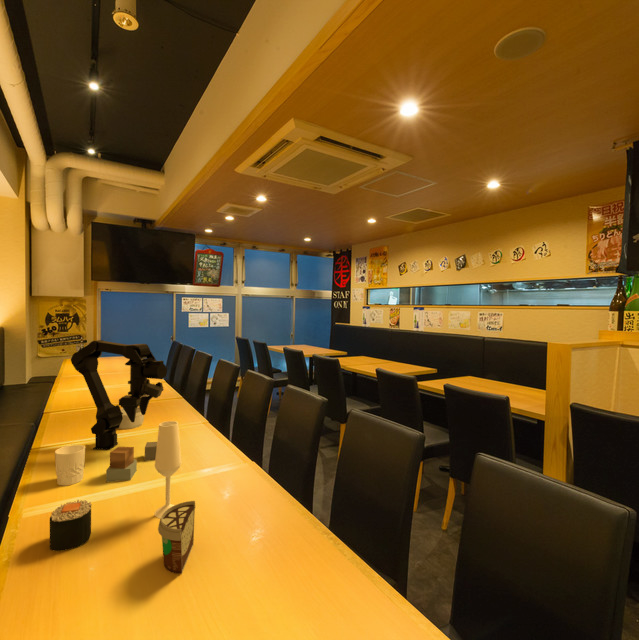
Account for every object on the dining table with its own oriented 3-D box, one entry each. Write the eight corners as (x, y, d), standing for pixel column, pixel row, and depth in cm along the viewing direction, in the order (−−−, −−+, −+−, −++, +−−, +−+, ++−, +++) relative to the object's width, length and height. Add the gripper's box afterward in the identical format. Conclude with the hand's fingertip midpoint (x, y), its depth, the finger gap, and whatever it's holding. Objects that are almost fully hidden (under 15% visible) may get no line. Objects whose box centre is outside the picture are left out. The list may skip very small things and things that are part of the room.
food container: (168, 541, 87) (168, 500, 87) (195, 540, 88) (195, 499, 88) (148, 580, 75) (149, 531, 75) (179, 578, 76) (180, 530, 75)
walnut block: (125, 468, 117) (125, 452, 117) (109, 467, 117) (109, 452, 117) (133, 461, 122) (133, 447, 122) (118, 461, 122) (118, 446, 122)
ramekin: (116, 432, 160) (116, 416, 160) (109, 424, 170) (109, 409, 170) (148, 426, 169) (148, 411, 169) (140, 419, 179) (140, 405, 179)
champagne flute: (161, 504, 104) (162, 419, 103) (184, 505, 103) (186, 420, 103) (149, 518, 97) (150, 427, 96) (174, 519, 97) (175, 428, 96)
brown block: (144, 461, 132) (144, 447, 132) (146, 455, 137) (146, 442, 137) (159, 459, 133) (159, 446, 133) (161, 454, 138) (161, 441, 138)
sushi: (45, 555, 82) (46, 519, 81) (55, 533, 89) (55, 501, 89) (88, 546, 85) (88, 512, 85) (94, 526, 93) (94, 495, 92)
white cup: (52, 488, 111) (52, 455, 110) (57, 477, 118) (57, 446, 117) (83, 483, 114) (83, 451, 114) (86, 473, 121) (86, 443, 121)
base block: (106, 482, 116) (106, 470, 116) (113, 472, 123) (113, 461, 123) (130, 481, 117) (130, 468, 117) (136, 471, 124) (136, 459, 124)
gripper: (150, 382, 131) (150, 426, 131) (169, 373, 149) (168, 411, 150) (118, 382, 130) (117, 426, 131) (141, 372, 149) (140, 411, 149)
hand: (138, 418), depth 140 cm, fingers open, 9 cm apart
